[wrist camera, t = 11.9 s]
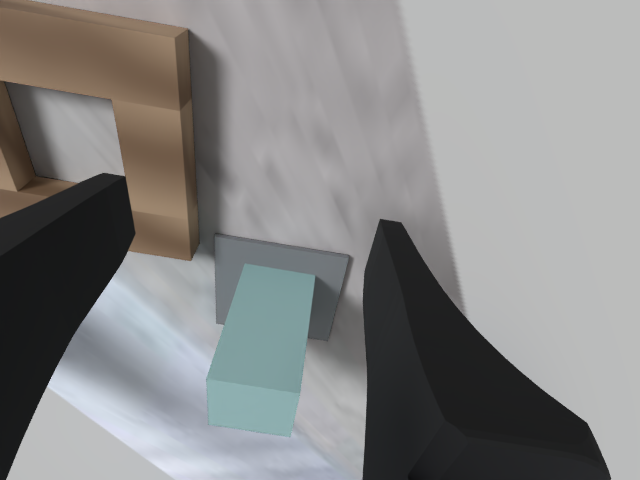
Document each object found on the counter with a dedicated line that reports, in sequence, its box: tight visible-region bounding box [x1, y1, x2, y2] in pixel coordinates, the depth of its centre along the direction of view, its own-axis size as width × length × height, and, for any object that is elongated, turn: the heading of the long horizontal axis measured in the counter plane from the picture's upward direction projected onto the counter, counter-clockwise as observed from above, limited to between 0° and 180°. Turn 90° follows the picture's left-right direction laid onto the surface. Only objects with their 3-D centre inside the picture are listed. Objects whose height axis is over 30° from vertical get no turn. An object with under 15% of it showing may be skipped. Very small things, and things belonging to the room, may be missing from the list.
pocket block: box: [0, 0, 200, 261], centre depth 21 cm, size 12×12×2 cm
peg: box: [206, 264, 315, 437], centre depth 24 cm, size 4×4×8 cm
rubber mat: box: [214, 234, 349, 341], centre depth 27 cm, size 8×8×1 cm
